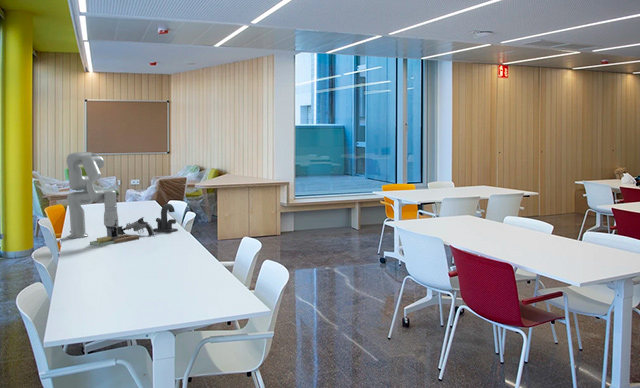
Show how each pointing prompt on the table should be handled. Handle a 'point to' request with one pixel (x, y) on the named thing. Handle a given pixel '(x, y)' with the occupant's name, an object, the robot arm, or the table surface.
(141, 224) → the gun
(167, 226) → the faucet
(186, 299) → the table surface
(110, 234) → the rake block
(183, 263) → the table surface
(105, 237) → the olive yellow cube
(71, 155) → the robot arm
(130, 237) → the slot board
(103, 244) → the tray
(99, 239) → the tan wooden cube
